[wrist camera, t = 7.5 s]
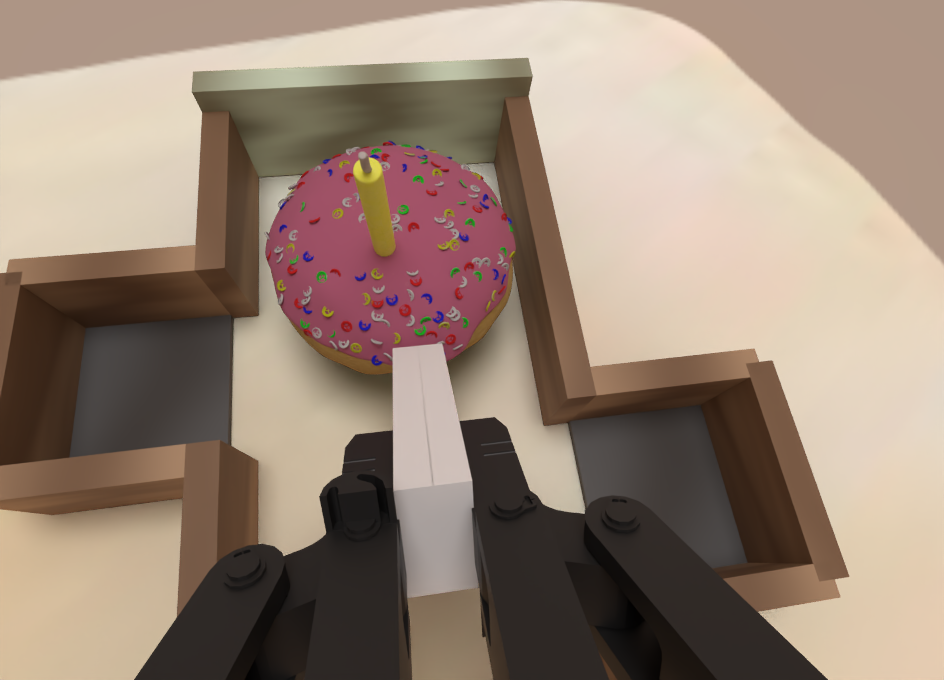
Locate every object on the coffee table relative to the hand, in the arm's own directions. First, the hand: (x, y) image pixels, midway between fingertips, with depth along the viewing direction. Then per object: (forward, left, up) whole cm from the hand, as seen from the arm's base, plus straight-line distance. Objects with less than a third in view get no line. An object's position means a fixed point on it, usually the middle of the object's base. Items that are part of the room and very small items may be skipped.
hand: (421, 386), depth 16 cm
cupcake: (0, +5, -5) cm, 7 cm away
